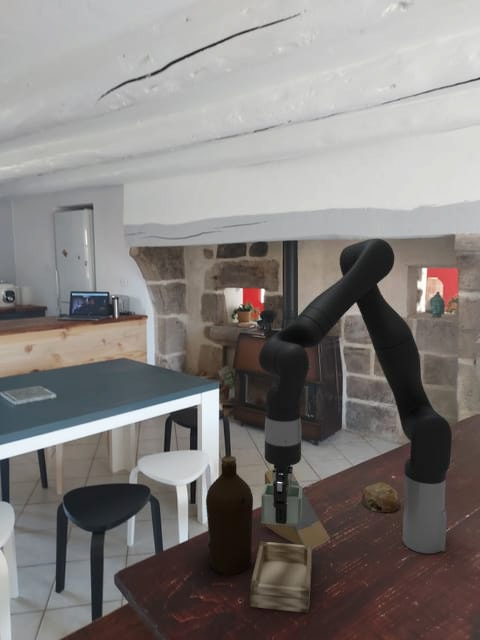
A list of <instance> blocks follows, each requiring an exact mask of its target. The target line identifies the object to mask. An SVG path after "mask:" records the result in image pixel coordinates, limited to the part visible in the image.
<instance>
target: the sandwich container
mask: <svg viewBox="0 0 480 640" xmlns="http://www.w3.org/2000/svg"><path fill="white" fill-rule="evenodd" d="M273 470H274V468H272V469H271V470H270V469H269V470H267V471H265V472H264V485H265V484H273V478H272V471H273ZM290 485H291V486H301V485H300V483H299V482H298V480H297V478H296V476H295V474H294V473H292V483H291V484H290ZM265 527H266V528H268V529H269V530H271V531H272V532H274V533H275V534H277V535H279V536H280V537H282V538H283V539H285V540H287V541H288V542H290V543H291V544H296V545H307V546H312V551H313V550H314V549H317V548H318V547H320V546H323V544H325V543H327V542H329V541H331V538H330V535H328V532H327V530H326V529H325V527H324V526H323V524H322V522H321V521H320V519H319V517H318V515H317V514H316V512H315V510H314V508H313V507H312V505H311V504H310V501H309V500H308V497H307V496H306V494H305V492H304V491H303V490H302V518H301V527H299V526H287V525H276V524H265Z"/></svg>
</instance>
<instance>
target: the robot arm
mask: <svg viewBox="0 0 480 640" xmlns="http://www.w3.org/2000/svg"><path fill="white" fill-rule="evenodd" d="M394 265H395V253H394V249H393V248H392V246H391V245H390V243H389V242H388V241H386V240H385V239H381V238H371V239H366V240H363V241H359V242H356V243H353V244H350V245H348V246H346V247H344V248H343V249H342V250H341V253H340V256H339V267H340V272H341V275H342V277H341V278H340V279H339V280H337V281H336V282H335V283H334V284H332V285H331V286H329V287H328V288H326V290H323V292H321V293H320V294H319V295H317V296H316V297H315V298H314V299H313V300H311V301H310V302H309V303H308V305H306V307H305V308H304V309H303V310H302V311H301V312H300V314H298V316H297V317H296V318H295V320H293V321H292V322H291V323H289V324H287V325H286V326H285V327H282V329H280V330H279V331H278V332H276V333H275V334H273V335H272V336H271V337H269V339H267V340H266V341H265V343H264V344H263V345H262V347H261V349H260V351H259V354H258V363H259V366H260V368H261V369H262V370H263V371H265V372H266V373H268V374H271V375H275V376H278V377H279V380H278V381H279V382H278V385H275V386H272V387H270V388H269V389H268V390H267V391H266V396H265V422H264V459H265V461H266V462H267V463H268V464H271V465H273V469H274V470H273V471H272V478H273V493H274V503H273V506H274V507H275V508H276V520H275V521H276V523H279V524H285V523H286V521H287V505H288V503H287V496H288V495H289V494H290V484H291V483H292V473H293V471H294V466H295V465H296V464H298V463H300V461H301V460H302V420H301V397H302V393H303V390H304V387H305V383H306V379H307V376H308V374H309V368H310V359H309V356H308V352H307V350H306V349H309V348H314V347H317V346H318V345H319V344H320V343H321V342H322V341H323V340H324V338H325V337H326V336H328V334H329V333H330V332H331V330H332V329H333V328H334V326H335V325H336V324H337V323H338V321H340V320H341V318H342V317H343V316H344V315H345V314H346V313H347V312H348V311H349V310H350V309H351V308H352V307H353V306H354V305H355V304H356V306H357V308H358V310H359V312H360V316H361V317H362V320H363V323H364V325H365V327H366V330H367V333H368V335H369V338H370V340H371V344H372V348H373V350H374V352H375V356H376V358H377V360H378V363H379V365H380V367H381V370H382V372H383V375H384V377H385V380H386V382H387V383H388V386H389V388H390V390H391V392H392V395H393V398H394V400H395V405H396V408H397V413H398V416H399V421H400V425H401V429H402V431H403V433H404V435H405V436H406V438H407V439H408V440H409V441H410V456H409V459H407V460H406V461H405V462H404V473H403V475H404V476H403V477H404V478H403V479H404V480H403V481H404V482H403V507H402V508H403V509H402V510H403V511H402V514H403V515H402V542H403V544H404V545H405V546H406V547H407V548H409V549H411V550H412V551H414V552H417V553H420V554H426V555H427V554H428V555H429V554H436V553H439V552H440V553H441V552H446V540H447V511H446V509H445V508H446V507H445V506H446V505H445V503H446V498H445V497H446V478H447V473H448V471H449V468H450V464H451V463H450V462H451V456H452V454H451V451H452V439H453V438H452V437H453V436H452V435H453V434H452V428H451V425H450V423H449V422H448V420H447V419H446V418H444V417H443V416H442V415H441V414H440V413H438V411H436V410H435V409H434V408H433V406H432V405H431V402H430V400H429V398H428V396H427V393H426V391H425V388H424V385H423V382H422V372H421V371H422V368H421V357H420V354H419V349H418V346H417V343H416V341H415V337H414V334H413V332H412V330H411V328H410V326H409V324H408V323H407V322H406V320H405V319H404V318H403V317H402V316H401V315H400V314H399V313H398V312H397V311H396V310H395V309H394V308H393V307H392V306H391V305H390V304H389V303H388V302H387V301H386V299H385V298H384V296H383V294H382V293H381V290H380V288H379V285H378V284H379V282H382V280H384V279H385V278H386V277H387V276H388V275H389V274H390V273H391V272H392V269H393V268H394ZM293 474H294V473H293ZM286 488H287V490H286ZM278 499H283V500H278Z"/></svg>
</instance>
